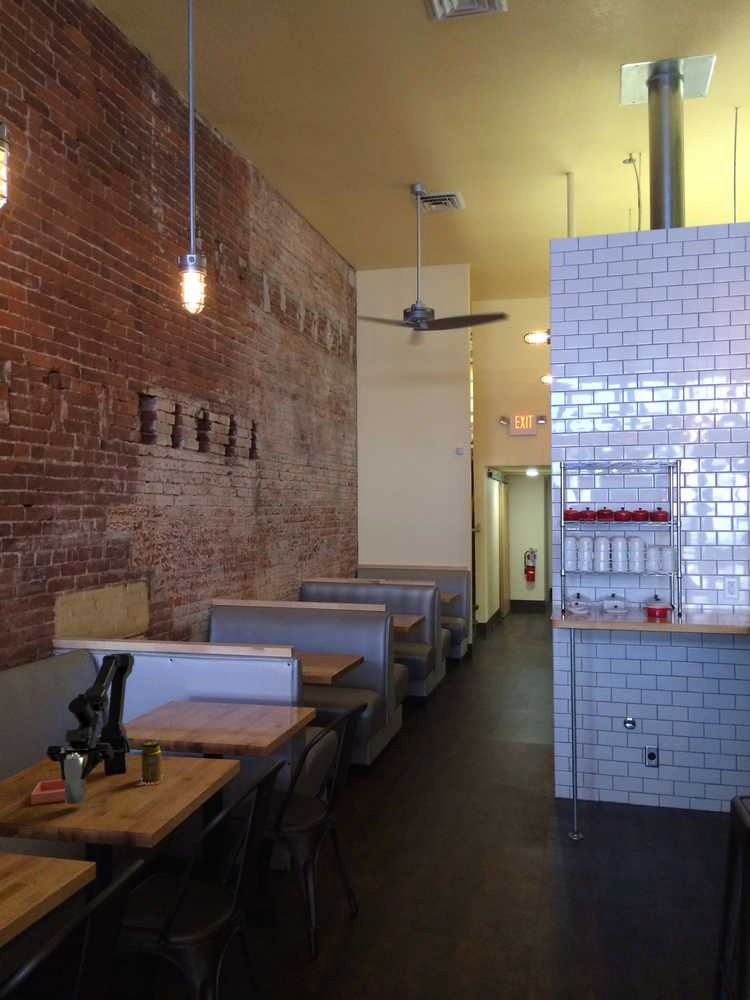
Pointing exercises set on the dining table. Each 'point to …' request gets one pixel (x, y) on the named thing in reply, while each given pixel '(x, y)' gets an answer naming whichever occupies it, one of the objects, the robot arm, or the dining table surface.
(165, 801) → the dining table surface
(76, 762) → the pebble tin
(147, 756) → the condiment
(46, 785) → the dish
